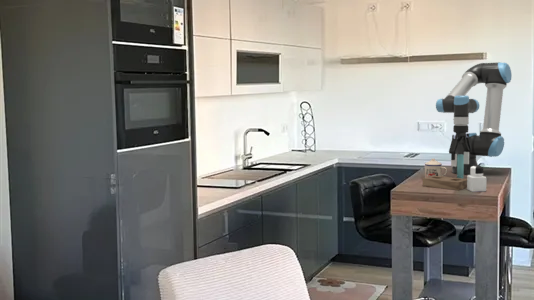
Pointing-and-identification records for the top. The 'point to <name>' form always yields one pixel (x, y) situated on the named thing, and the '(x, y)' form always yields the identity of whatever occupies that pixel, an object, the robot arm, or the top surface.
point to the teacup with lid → (433, 168)
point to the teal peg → (460, 165)
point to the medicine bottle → (476, 179)
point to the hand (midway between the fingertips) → (460, 165)
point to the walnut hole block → (445, 182)
